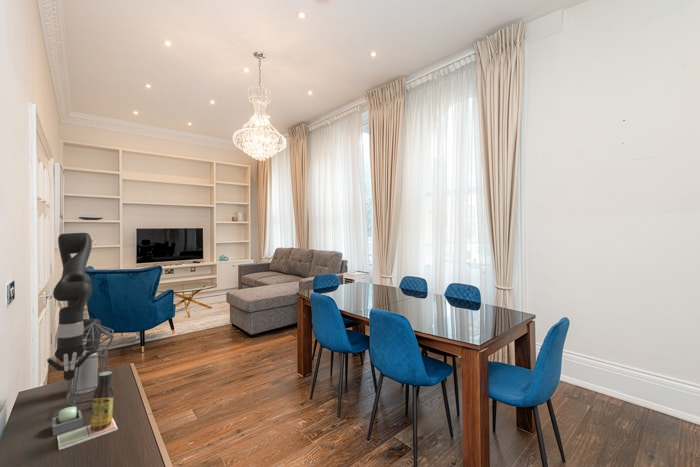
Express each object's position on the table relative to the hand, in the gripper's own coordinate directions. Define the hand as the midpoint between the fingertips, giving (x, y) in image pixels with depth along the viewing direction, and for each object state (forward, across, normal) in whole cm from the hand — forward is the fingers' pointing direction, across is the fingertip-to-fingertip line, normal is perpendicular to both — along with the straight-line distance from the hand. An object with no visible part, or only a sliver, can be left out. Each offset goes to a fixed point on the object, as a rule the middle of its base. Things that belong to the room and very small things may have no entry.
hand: (68, 379), depth 118 cm
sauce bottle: (+17, +9, -11) cm, 22 cm away
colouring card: (+18, +5, -11) cm, 21 cm away
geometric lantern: (+18, +8, +15) cm, 25 cm away
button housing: (+18, 0, 0) cm, 18 cm away
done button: (+15, 0, 0) cm, 15 cm away
